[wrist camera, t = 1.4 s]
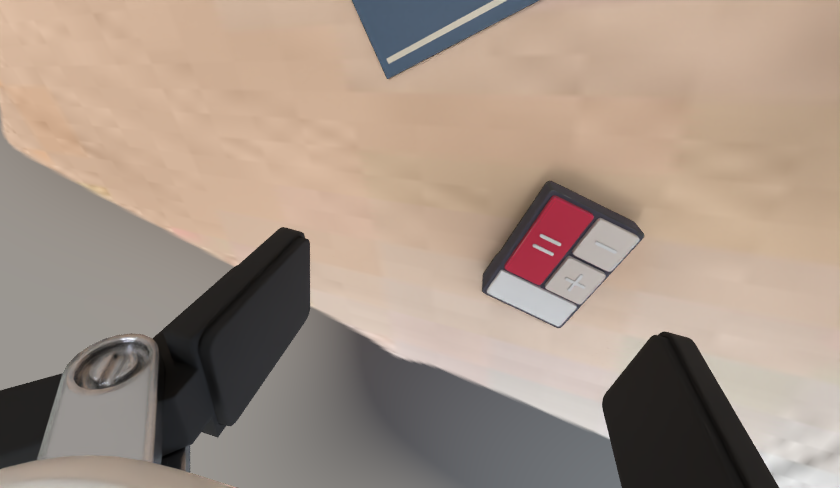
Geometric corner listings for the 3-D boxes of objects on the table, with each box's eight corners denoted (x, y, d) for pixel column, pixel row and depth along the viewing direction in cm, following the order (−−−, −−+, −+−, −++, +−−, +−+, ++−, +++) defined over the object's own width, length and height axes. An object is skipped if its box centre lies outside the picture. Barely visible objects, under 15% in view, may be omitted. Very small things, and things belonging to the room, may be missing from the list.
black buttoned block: (649, 238, 35) (560, 334, 43) (635, 220, 39) (555, 311, 46) (552, 190, 35) (480, 295, 42) (547, 177, 38) (481, 276, 46)
